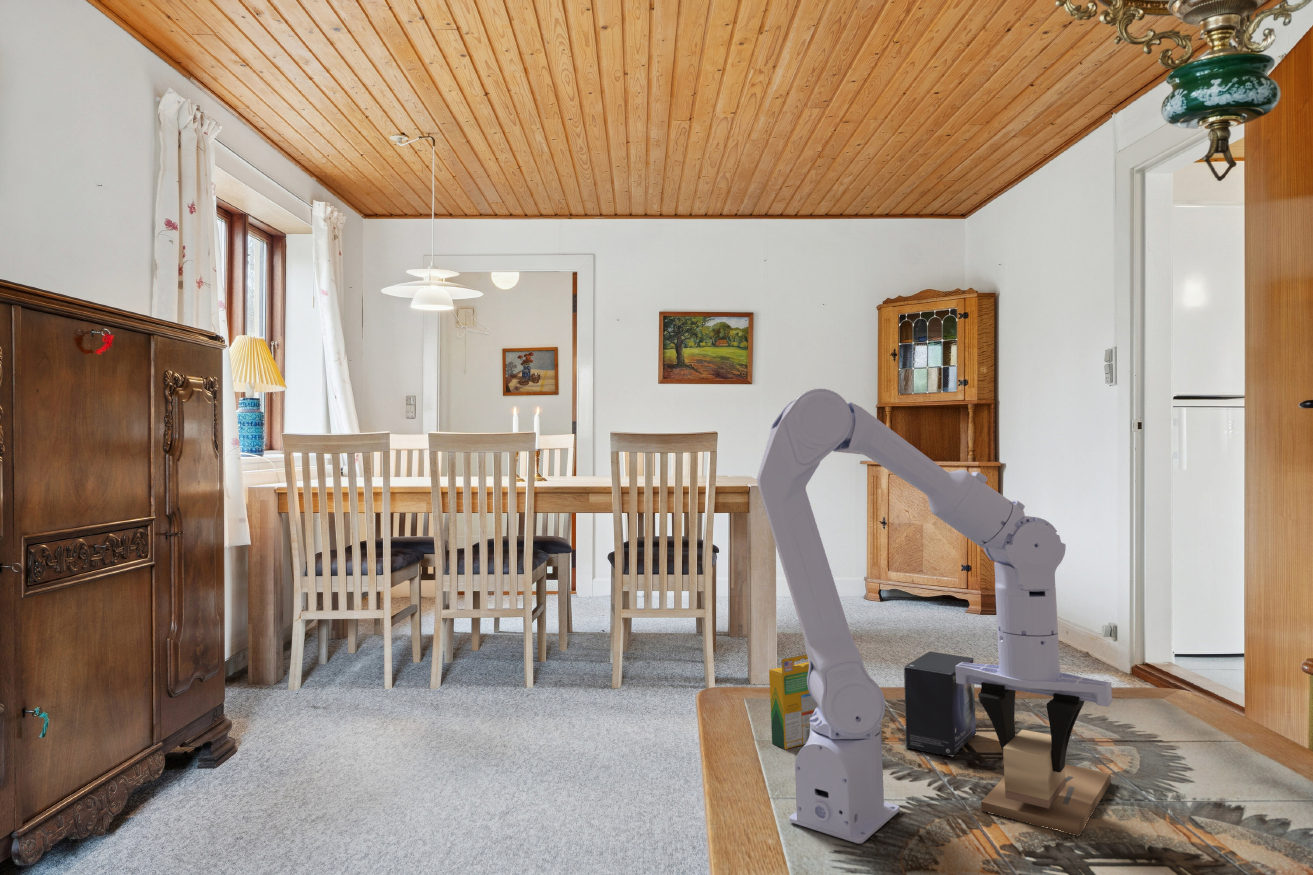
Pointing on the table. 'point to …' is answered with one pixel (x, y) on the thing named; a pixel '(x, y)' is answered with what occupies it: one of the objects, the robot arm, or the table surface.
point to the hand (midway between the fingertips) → (1034, 763)
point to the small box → (938, 704)
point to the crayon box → (790, 703)
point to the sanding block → (1031, 770)
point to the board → (1067, 807)
